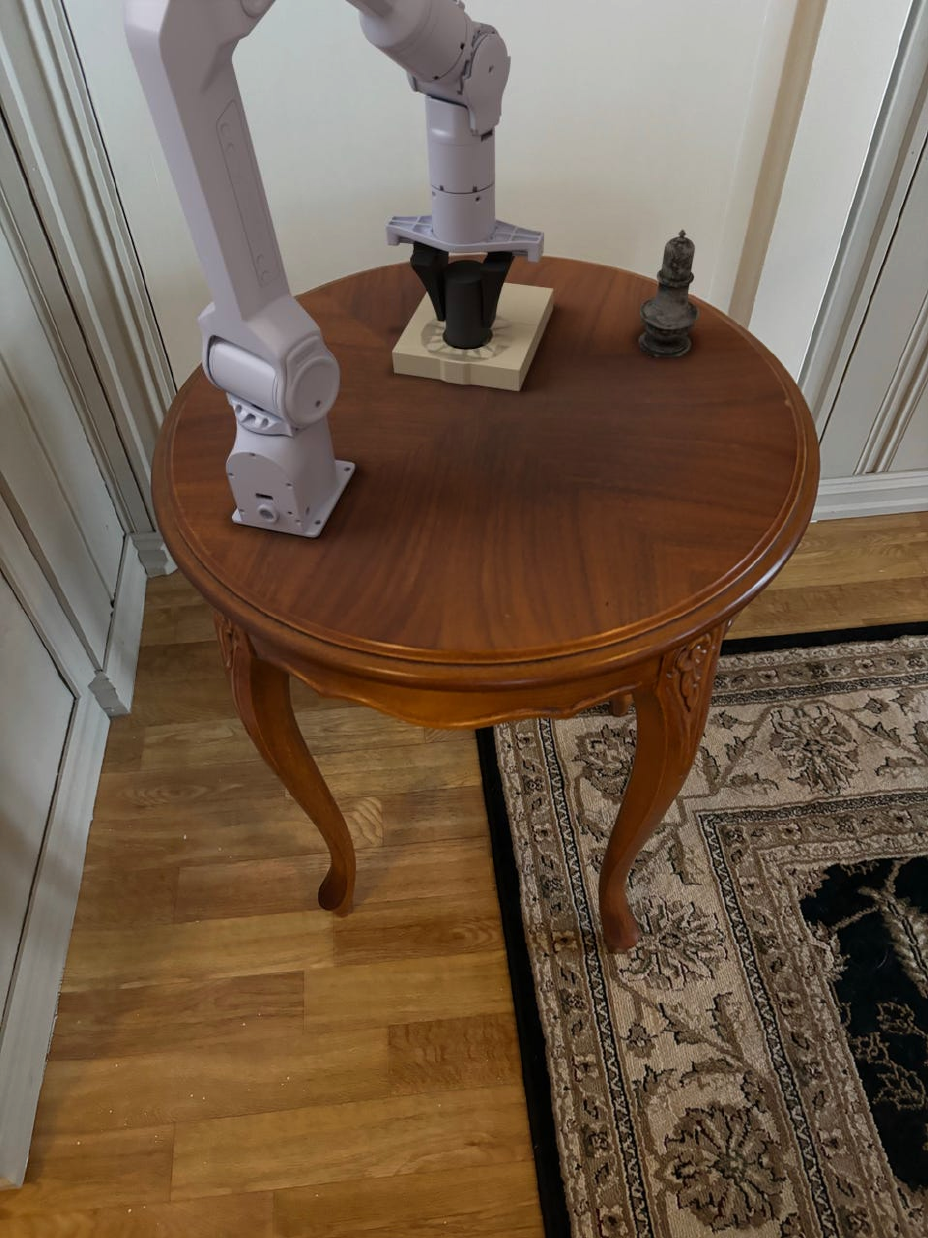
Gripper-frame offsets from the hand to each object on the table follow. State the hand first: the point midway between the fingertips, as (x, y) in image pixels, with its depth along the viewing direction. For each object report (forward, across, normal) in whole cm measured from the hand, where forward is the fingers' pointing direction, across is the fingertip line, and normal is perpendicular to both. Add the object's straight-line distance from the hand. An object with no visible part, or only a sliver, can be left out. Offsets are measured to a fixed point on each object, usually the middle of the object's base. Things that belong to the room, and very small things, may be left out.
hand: (466, 319), depth 88 cm
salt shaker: (+4, -19, -7) cm, 21 cm away
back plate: (+4, 0, -3) cm, 5 cm away
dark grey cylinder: (+2, 0, 0) cm, 2 cm away
